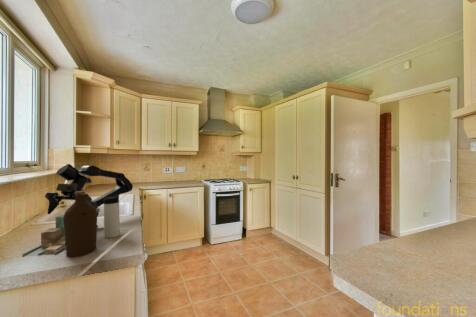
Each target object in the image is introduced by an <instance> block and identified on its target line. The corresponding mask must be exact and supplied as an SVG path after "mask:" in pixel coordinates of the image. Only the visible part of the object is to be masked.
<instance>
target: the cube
mask: <svg viewBox="0 0 476 317" xmlns="http://www.w3.org/2000/svg"><path fill="white" fill-rule="evenodd" d="M60 239H62V228H56V227H53V228H52V227H51V228H46V229H45V230H43V231H42V232H40V243H41V244H47V243H55V242H57V241H58V240H60ZM41 244H40V245H41Z"/></svg>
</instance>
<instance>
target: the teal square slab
mask: <svg viewBox="0 0 476 317" xmlns="http://www.w3.org/2000/svg"><path fill="white" fill-rule="evenodd" d="M63 217H64V214H62V215H59V216H56V217H55V228H62V239H60V240H58V241H57V242H55V243H47V244H40V245H41V248H42V247H50V246H52V245H54V244H56V243H58V242H60V241H62V240H64V239H65V232H64V222H63Z"/></svg>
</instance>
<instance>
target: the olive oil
mask: <svg viewBox="0 0 476 317" xmlns="http://www.w3.org/2000/svg"><path fill="white" fill-rule="evenodd" d="M75 194H76V195H75V200H74V202H73V203H72V204H71V205H70V206H69V207H68V208H67V209H66V210H65V212H64V214H63V215H64V217H63V222H64V232H65V246H66V249H65V254H66V255H65V256H66V257H67V258H72V259H73V258H75V259H76V258H81V257H84V256H88V255H89V254H92V253H93V252H95V251H96V250H97V231H98V228H97V227H98V226H97V225H98V217H97V212H98V209H96V208H95V207H94V206H93V205H91V204H90V203H89V202H87V201H86V194H87V193H86V190H83V191H77V192H75Z"/></svg>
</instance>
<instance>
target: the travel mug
mask: <svg viewBox="0 0 476 317" xmlns="http://www.w3.org/2000/svg"><path fill="white" fill-rule="evenodd" d="M120 224H121V223H120V195H118V194H116V195H112V196H107V197H105V198H104V204H103V227H104V229H103V231H104V234H103V235H104V238H105V239H111V238H116V237H118V236H120V234H121V232H120V230H121V227H120Z"/></svg>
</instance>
